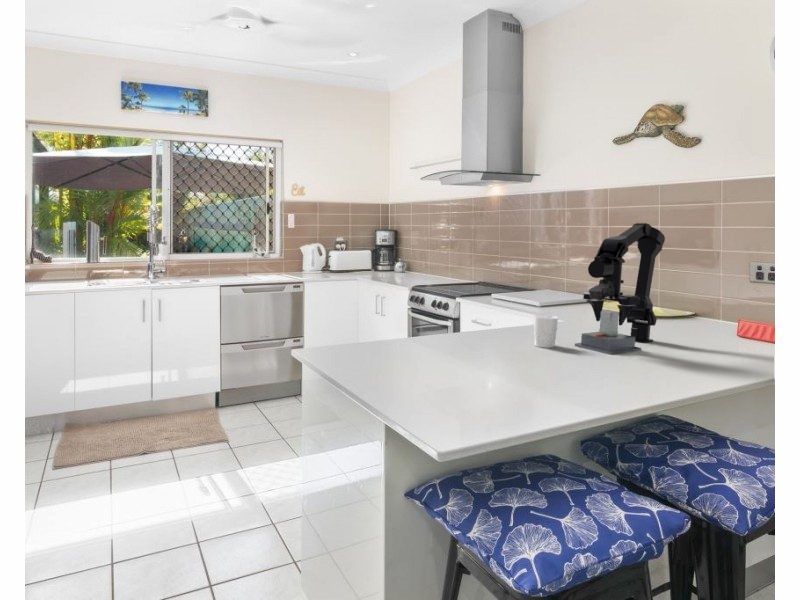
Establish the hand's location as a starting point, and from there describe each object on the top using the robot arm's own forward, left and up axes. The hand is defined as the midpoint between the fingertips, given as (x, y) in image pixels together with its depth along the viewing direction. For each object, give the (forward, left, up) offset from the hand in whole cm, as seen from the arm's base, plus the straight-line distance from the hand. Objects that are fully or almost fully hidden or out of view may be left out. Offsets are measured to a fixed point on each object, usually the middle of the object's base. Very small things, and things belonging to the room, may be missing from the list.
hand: (609, 323), depth 189 cm
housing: (0, 0, -8) cm, 8 cm away
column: (0, 0, -5) cm, 5 cm away
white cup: (+17, -12, -9) cm, 23 cm away
